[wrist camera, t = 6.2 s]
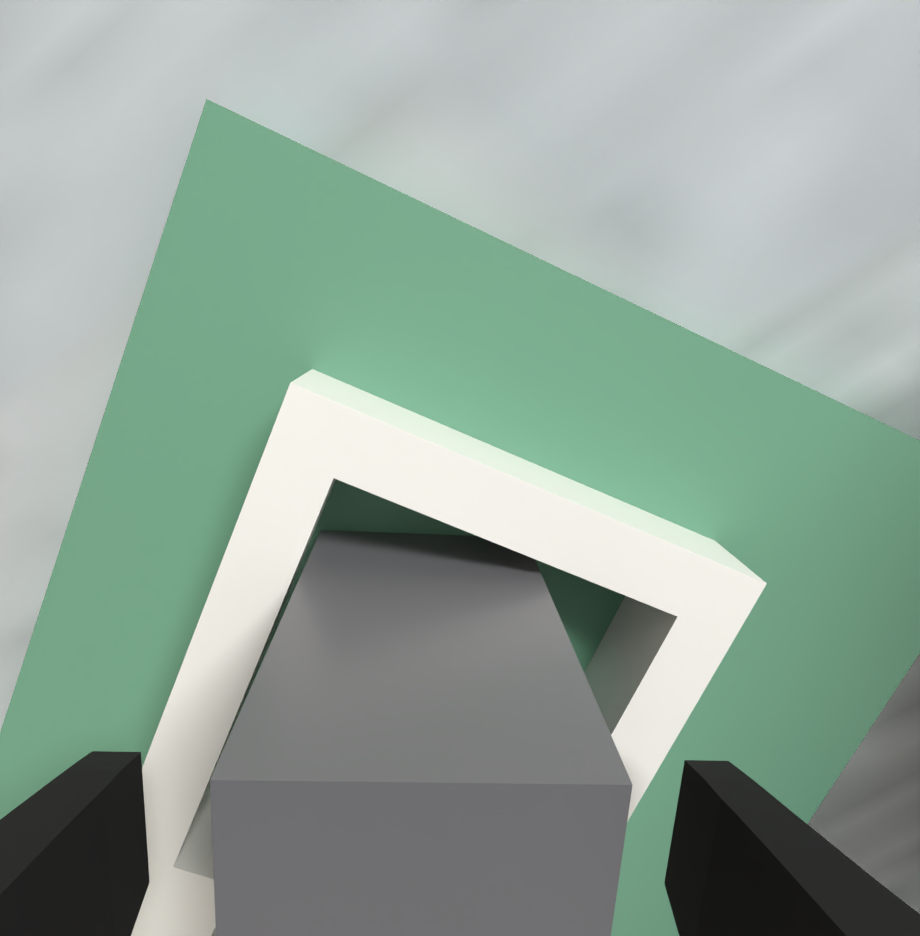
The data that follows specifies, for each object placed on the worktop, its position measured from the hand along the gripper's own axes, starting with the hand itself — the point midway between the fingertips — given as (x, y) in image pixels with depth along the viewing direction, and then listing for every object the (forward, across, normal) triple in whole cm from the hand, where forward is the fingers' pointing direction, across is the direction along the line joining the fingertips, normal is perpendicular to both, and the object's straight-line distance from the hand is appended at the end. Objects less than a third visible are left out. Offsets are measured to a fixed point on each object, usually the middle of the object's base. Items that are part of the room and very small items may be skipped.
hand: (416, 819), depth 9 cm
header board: (+4, -1, 0) cm, 4 cm away
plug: (+3, 0, 0) cm, 3 cm away
